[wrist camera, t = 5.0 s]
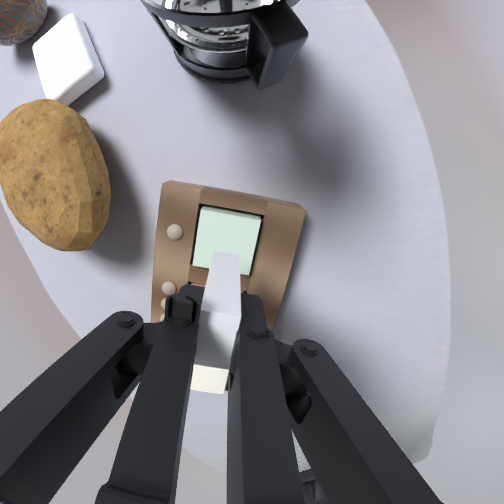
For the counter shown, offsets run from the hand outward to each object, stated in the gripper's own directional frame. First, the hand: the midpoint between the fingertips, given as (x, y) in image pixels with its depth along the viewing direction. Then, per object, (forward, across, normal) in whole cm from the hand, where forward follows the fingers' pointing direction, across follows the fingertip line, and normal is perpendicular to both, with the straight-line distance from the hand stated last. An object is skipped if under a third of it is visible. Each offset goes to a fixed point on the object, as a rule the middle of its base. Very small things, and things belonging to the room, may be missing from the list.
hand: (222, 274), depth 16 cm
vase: (+8, +27, -21) cm, 35 cm away
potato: (+8, +15, -4) cm, 18 cm away
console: (+8, 0, +6) cm, 10 cm away
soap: (+8, +18, -15) cm, 25 cm away
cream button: (+7, 0, +13) cm, 14 cm away
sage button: (+8, 0, 0) cm, 8 cm away
